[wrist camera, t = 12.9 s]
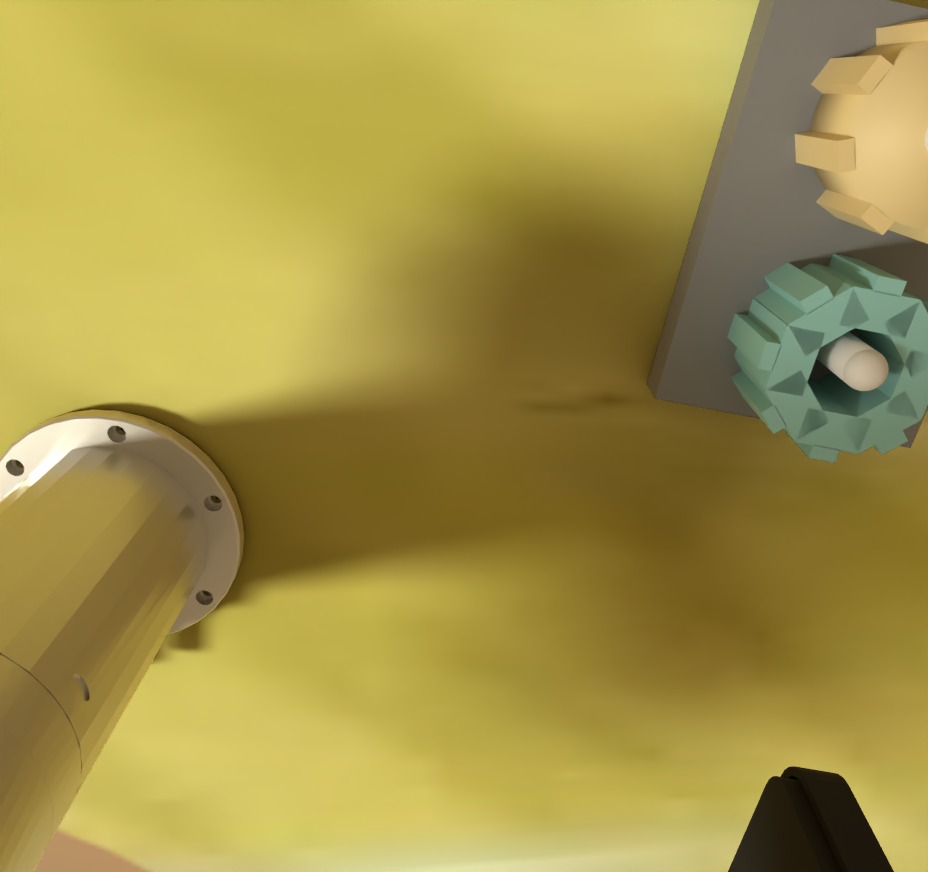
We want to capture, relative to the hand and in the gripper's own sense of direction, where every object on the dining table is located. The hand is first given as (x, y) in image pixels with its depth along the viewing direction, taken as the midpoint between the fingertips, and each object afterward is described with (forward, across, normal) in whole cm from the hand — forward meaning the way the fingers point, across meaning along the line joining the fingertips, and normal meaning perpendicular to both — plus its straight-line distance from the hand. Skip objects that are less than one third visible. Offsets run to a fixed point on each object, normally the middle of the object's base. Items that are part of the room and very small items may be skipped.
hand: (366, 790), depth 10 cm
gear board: (+30, -16, -5) cm, 35 cm away
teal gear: (+28, -16, 0) cm, 33 cm away
